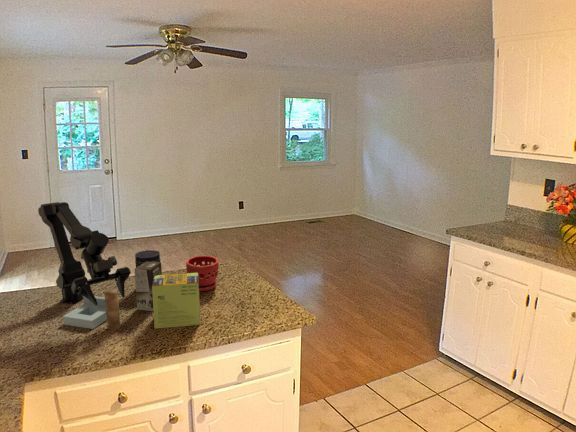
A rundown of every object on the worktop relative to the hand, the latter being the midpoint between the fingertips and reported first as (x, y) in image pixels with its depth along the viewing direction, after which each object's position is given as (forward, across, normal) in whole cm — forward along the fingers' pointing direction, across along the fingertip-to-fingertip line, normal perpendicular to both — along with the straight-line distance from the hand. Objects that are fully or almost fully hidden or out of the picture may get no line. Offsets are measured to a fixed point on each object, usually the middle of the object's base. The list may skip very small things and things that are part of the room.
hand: (110, 301), depth 149 cm
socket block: (-1, -4, +14) cm, 15 cm away
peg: (+7, 0, +6) cm, 9 cm away
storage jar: (-10, +25, +23) cm, 35 cm away
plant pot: (+1, +42, +12) cm, 44 cm away
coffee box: (+2, +17, +12) cm, 21 cm away
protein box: (+15, +18, -1) cm, 24 cm away
